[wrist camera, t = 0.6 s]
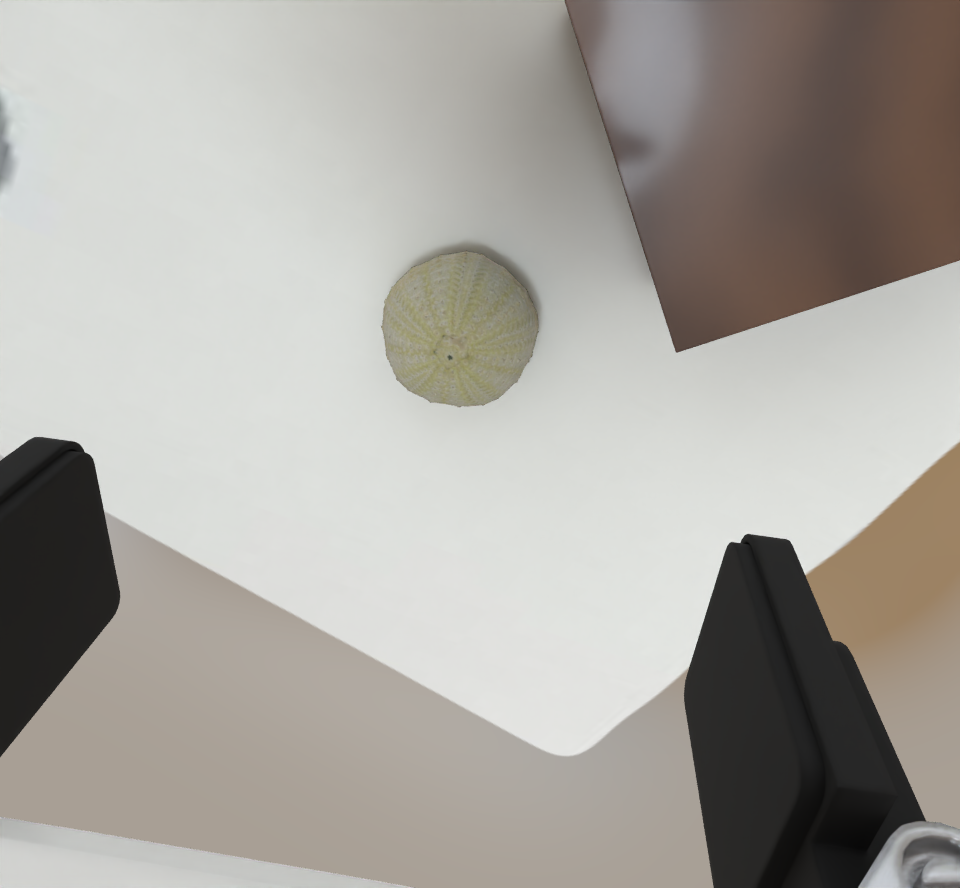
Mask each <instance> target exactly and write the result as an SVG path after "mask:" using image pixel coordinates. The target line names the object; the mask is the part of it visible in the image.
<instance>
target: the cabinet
mask: <svg viewBox="0 0 960 888" xmlns="http://www.w3.org/2000/svg"><path fill="white" fill-rule="evenodd" d="M565 4H566V7H567V10H568V13H569V16H570V19H571V23H572V26H573V29H574V32H575V35H576V38H577V41H578V45H579V48H580V51H581V54H582V57H583V60H584V64H585V67H586V70H587V73H588V76H589V79H590V83H591V86H592V89H593V92H594V95H595V98H596V101H597V105H598V108H599V111H600V114H601V117H602V120H603V124H604V127H605V130H606V133H607V136H608V139H609V143H610V146H611V149H612V152H613V155H614V158H615V162H616V165H617V168H618V171H619V174H620V177H621V180H622V184H623V187H624V190H625V193H626V196H627V199H628V203H629V206H630V209H631V212H632V215H633V218H634V222H635V225H636V228H637V231H638V234H639V237H640V240H641V244H642V247H643V250H644V253H645V256H646V259H647V263H648V266H649V269H650V272H651V275H652V278H653V282H654V285H655V288H656V291H657V294H658V297H659V300H660V304H661V307H662V310H663V313H664V316H665V319H666V323H667V326H668V329H669V332H670V335H671V338H672V342H673V345H674V348H675V351H676V352H680V351H683V350H686V349H689V348H693V347H696V346H699V345H702V344H705V343H708V342H711V341H714V340H717V339H720V338H723V337H726V336H729V335H732V334H735V333H739V332H742V331H745V330H748V329H751V328H754V327H757V326H760V325H763V324H766V323H769V322H772V321H775V320H778V319H781V318H784V317H788V316H791V315H794V314H797V313H800V312H803V311H806V310H809V309H812V308H815V307H818V306H821V305H824V304H827V303H830V302H834V301H837V300H840V299H843V298H846V297H849V296H852V295H855V294H858V293H861V292H864V291H867V290H870V289H873V288H876V287H879V286H883V285H886V284H889V283H892V282H895V281H898V280H901V279H904V278H907V277H910V276H913V275H916V274H919V273H922V272H925V271H929V270H932V269H935V268H938V267H941V266H944V265H947V264H950V263H953V262H956V261H959V260H960V0H565Z"/></svg>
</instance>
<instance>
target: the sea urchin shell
mask: <svg viewBox="0 0 960 888" xmlns="http://www.w3.org/2000/svg"><path fill="white" fill-rule="evenodd" d="M381 328H382V330H383V334H384V339H385V346H386V356H387V359H388V360H389V362H390V365H391V367H392V368H393V372H394V374H395V376H396V379H397V380H398V381H399V382H400V383H401V384H402V385H403V386H404V387H405V388H407V390H408V391H411V392H412V393H414V394H416V395H419V396H421V397H423V398H425V399H427V400H428V401H429V402H430V403H433V402H435V403H442V404H448V405H454V406H457V407H461V406H476V405H485V404H487V403H489V402H491V401H493V400H496V399H499V397H500V396H501V395H503V394H504V393H505V392H506V391H507V390H508V389H509V388H510V387H511V386H512V385H513V384H514V383H516V382H517V381H518V379H519V378H520V376H521V373H522V371H523V369H524V368H525V366H526V364H527V363H528V362H529V359H530V358H531V357H532V353H533V349H534V345H535V341H536V337H537V334H538V332H539V331H538V316H537V312H536V309H535V307H534V306H533V302H532V301H531V299H530V297H529V295H528V291H527V289H525V288H524V287H523V286H522V284H521V283H519V282H518V281H517V280H516V279H515V278H514V277H513V275H512V274H511V273H509V272H508V271H507V269H506V268H505V267H502V266H500V265H499V264H497V263H495V262H494V261H492V260H490V259H489V258H487V257H485V256H484V255H483V254H476V253H472V252H467V251H465V252H459V253H455V254H448V255H441V254H440V256H438V257H435V258H433V259H432V260H430V261H427V262H425V263H423V264H420V265H418V266H414V267H412V268H411V269H410V271H409V272H408V273H406V274H405V275H404V276H403V277H402V278H401V279H400V280H399V281H397V283H396V284H395V285H394V287H392V288H391V290H390V293H389V295H388V296H387V299H385V306H384V311H383V325H382V326H381Z"/></svg>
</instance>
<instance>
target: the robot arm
mask: <svg viewBox="0 0 960 888" xmlns="http://www.w3.org/2000/svg"><path fill="white" fill-rule="evenodd" d="M119 601H120V590H119V586H118V580H117V575H116V570H115V565H114V560H113V555H112V550H111V545H110V540H109V535H108V530H107V525H106V520H105V515H104V509H103V504H102V499H101V494H100V489H99V484H98V479H97V474H96V469H95V464H94V461H93V458H92V457H91V456H90V455H89V454H87V453H85V452H84V449H83V448H82V447H81V445H80V444H78V443H76V442H73V441H66V440H58V439H51V438H44V437H34V438H32V439H30V440H28V441H27V442H26V443H24V444H23V445H21V446H20V447H19V448H17V449H16V450H15V451H13V452H12V453H10V454H9V455H8V456H6V457H5V458H4V459H2V460H1V461H0V757H1V755H2V754H3V753H4V752H5V750H6V749H7V748H8V747H9V746H10V744H11V743H12V742H13V741H14V739H15V738H16V737H17V736H18V734H19V733H20V732H21V731H22V729H23V728H24V727H25V726H26V724H27V723H28V722H29V721H30V720H31V718H32V717H33V716H34V715H35V713H36V712H37V711H38V710H39V708H40V707H41V706H42V705H43V703H44V702H45V701H46V699H47V698H48V697H49V696H50V695H51V694H52V692H53V691H54V690H55V689H56V687H57V686H58V685H59V684H60V682H61V681H62V680H63V679H64V677H65V676H66V675H67V674H68V672H69V671H70V670H71V669H72V668H73V666H74V665H75V664H76V662H77V661H78V660H79V659H80V658H81V656H82V655H83V654H84V653H85V651H86V650H87V649H88V648H89V646H90V645H91V644H92V643H93V642H94V640H95V639H96V638H97V636H98V635H99V634H100V632H102V630H103V629H104V628H105V627H106V625H107V624H108V623H109V622H110V620H111V619H112V618H113V616H114V615H115V613H116V611H117V609H118V605H119ZM684 702H685V709H686V715H687V722H688V728H689V735H690V740H691V747H692V753H693V760H694V766H695V772H696V778H697V785H698V790H699V798H700V804H701V810H702V816H703V823H704V829H705V835H706V841H707V848H708V854H709V860H710V867H711V873H712V879H713V885H714V888H960V829H957V828H954V827H951V826H948V825H945V824H942V823H938V822H926V820H925V818H924V815H923V813H922V811H921V809H920V806H919V804H918V802H917V800H916V797H915V795H914V793H913V791H912V788H911V786H910V784H909V782H908V779H907V777H906V775H905V773H904V770H903V768H902V766H901V764H900V761H899V759H898V757H897V755H896V753H895V750H894V748H893V746H892V743H891V741H890V739H889V737H888V734H887V732H886V730H885V727H884V725H883V723H882V721H881V718H880V716H879V714H878V712H877V709H876V707H875V705H874V703H873V700H872V698H871V696H870V694H869V691H868V689H867V687H866V685H865V683H864V680H863V678H862V676H861V674H860V671H859V669H858V667H857V664H856V662H855V660H854V658H853V656H852V654H851V652H850V651H849V649H848V647H847V646H846V645H844V644H843V643H841V642H838V641H833V640H832V638H831V636H830V633H829V631H828V628H827V626H826V624H825V621H824V619H823V617H822V614H821V612H820V610H819V607H818V605H817V602H816V600H815V598H814V595H813V593H812V591H811V588H810V586H809V583H808V581H807V579H806V576H805V574H804V572H803V569H802V567H801V564H800V562H799V560H798V557H797V555H796V553H795V550H794V548H793V546H792V544H791V542H790V541H789V540H787V539H780V538H773V537H766V536H758V535H751V534H747V535H745V536H744V537H743V539H742V540H741V543H734V542H731V543H729V545H728V546H727V548H726V551H725V554H724V557H723V561H722V564H721V567H720V570H719V574H718V577H717V580H716V583H715V586H714V590H713V593H712V596H711V599H710V603H709V606H708V609H707V612H706V615H705V619H704V622H703V625H702V628H701V632H700V635H699V638H698V641H697V644H696V648H695V651H694V654H693V657H692V661H691V664H690V667H689V671H688V674H687V677H686V681H685V690H684ZM0 888H414V887H409V886H403V885H397V884H392V883H386V882H380V881H374V880H369V879H363V878H357V877H352V876H347V875H341V874H335V873H329V872H323V871H318V870H311V869H306V868H300V867H294V866H288V865H283V864H276V863H271V862H265V861H259V860H254V859H247V858H242V857H236V856H230V855H224V854H218V853H213V852H206V851H201V850H195V849H189V848H183V847H178V846H172V845H166V844H160V843H154V842H147V841H142V840H136V839H130V838H124V837H119V836H113V835H107V834H101V833H95V832H89V831H83V830H77V829H71V828H65V827H59V826H53V825H47V824H41V823H35V822H29V821H22V820H16V819H10V818H4V817H0Z"/></svg>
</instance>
